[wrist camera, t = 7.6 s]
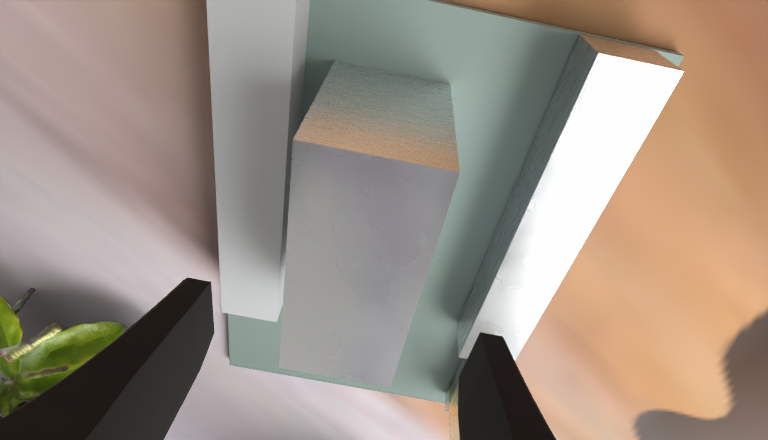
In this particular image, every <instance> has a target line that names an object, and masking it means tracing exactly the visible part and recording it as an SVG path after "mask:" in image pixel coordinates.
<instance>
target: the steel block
mask: <svg viewBox="0 0 768 440" xmlns="http://www.w3.org/2000/svg"><path fill="white" fill-rule="evenodd" d="M459 174H460V167H459V158H458V149H457V140H456V131H455V122H454V113H453V103H452V94H451V85H450V83H445V82H440V81H435V80H430V79H425V78H420V77H415V76H410V75H406V74H401V73H396V72H391V71H386V70H381V69H376V68H371V67H366V66H361V65H356V64H351V63H347V62H342V61H337V60H335V62H334V64H333V65H332V67H331V69H330V71H329V73H328V75H327V77H326V78H325V80H324V82H323V84H322V86H321V88H320V90H319V92H318V93H317V95H316V97H315V99H314V101H313V103H312V105H311V107H310V108H309V110H308V112H307V114H306V116H305V118H304V120H303V121H302V123H301V125H300V127H299V129H298V131H297V133H296V135H295V136H294V138H293V145H292V162H291V178H290V194H289V211H288V227H287V243H286V260H285V276H284V293H283V309H282V325H281V342H280V358H279V368H283V369H288V370H294V371H300V372H306V373H311V374H317V375H323V376H328V377H334V378H340V379H346V380H351V381H357V382H363V383H369V384H374V385H380V386H386V387H391V385H392V382H393V379H394V376H395V373H396V369H397V366H398V363H399V360H400V357H401V354H402V351H403V348H404V345H405V341H406V338H407V335H408V332H409V329H410V326H411V323H412V320H413V317H414V314H415V310H416V307H417V304H418V301H419V298H420V295H421V292H422V289H423V286H424V283H425V279H426V276H427V273H428V270H429V267H430V264H431V261H432V258H433V255H434V251H435V248H436V245H437V242H438V239H439V236H440V233H441V230H442V227H443V224H444V220H445V217H446V214H447V211H448V208H449V205H450V202H451V199H452V196H453V193H454V189H455V186H456V183H457V180H458V177H459Z"/></svg>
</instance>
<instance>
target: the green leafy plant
mask: <svg viewBox="0 0 768 440" xmlns="http://www.w3.org/2000/svg"><path fill="white" fill-rule="evenodd" d="M34 291H35V289H30V290H29V291H28V293H27V294H26V295H25V296H24V297H23V298H22V299H20V300H18V301H17V302H16V303H15V304H14V305H13V306H12V307H11V306H10V305H9V303H8V302H7V301H6V300H5V299H4V298H3V297H2V296H1V295H0V420H1V419H2V418H4V417H5V416H7V415H9V414H10V413H12V412H13V411H15V410H17V409H18V408H20V407H21V406H23V405H25V404H26V403H28V402H29V401H31V400H33V399H34V398H36V397H37V396H39V395H40V394H42V393H43V392H45V391H46V390H48V389H49V388H51V387H52V386H54V385H55V384H56V383H58V382H59V381H61V380H62V379H64V378H65V377H66V376H68V375H69V374H71V373H72V372H73V371H75V370H76V369H78V368H79V367H80V366H82V365H83V364H84V363H86V362H87V361H88V360H90V359H91V358H92V357H93V356H95V355H96V354H97V353H99V352H100V351H101V350H103V349H104V348H105V347H107V346H108V345H109V344H110V343H112V342H113V341H114V340H115V339H117V338H118V337H119V336H120V335H122V334H123V333H124V332H125V331H126V330H128V329H127V328H126V327H125V325H123V324H121V323H118V322H114V321H112V322H108V321H100V322H89V323H81V324H77V325H74V326H71V327H69V328H66V329H61V327H60V324H58V323H55V322H54V323H52V324H50V325H48V326H47V327H46V328H45V329H43V330H42V331H41V332H40V333H39V334H37V335H36V336H34V337H32V338H30V339H28V340H26V341H24V342H22V340H23V336H24V335H23V330H22V328H21V326H20V318H19V317H18V316H17V315H16V314H17V312H19V311H20V309H21V308H22V307H23V305H24V304H25V302H26V300H28V298H29V297H30V296H31V295H32V293H33V292H34ZM21 342H22V343H21Z"/></svg>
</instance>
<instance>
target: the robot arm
mask: <svg viewBox="0 0 768 440" xmlns="http://www.w3.org/2000/svg"><path fill="white" fill-rule="evenodd" d="M213 335H214V322H213V306H212V291H211V282H208V281H202V280H197V279H192V278H186V279H185V280H183V281H182V282H181V283H180V284H179V285H178V286H177V287H176V288H174V289H173V290H172V291H171V292H170V293H169V294H168V295H167V296H166V297H165V298H163V299H162V300H161V301H160V302H159V303H158V304H157V305H156V306H154V307H153V308H152V309H151V310H150V311H149V312H148V313H147V314H145V315H144V316H143V317H142V318H141V319H140V320H138V321H137V322H136V323H135V324H134V325H132V326H131V327H130V328H129V329H128V330H126V331H125V332H124V333H123V334H122V335H120V336H119V337H118V338H117V339H115V340H114V341H113V342H112V343H110V344H109V345H108V346H107V347H105V348H104V349H103V350H101V351H100V352H99V353H97V354H96V355H95V356H93V357H92V358H91V359H90V360H88V361H87V362H86V363H84V364H83V365H82V366H80V367H79V368H78V369H76V370H75V371H73V372H72V373H71V374H69V375H68V376H66V377H65V378H64V379H62V380H61V381H59V382H58V383H56V384H55V385H54V386H52V387H51V388H49V389H48V390H46V391H45V392H43V393H42V394H40V395H39V396H37V397H36V398H34V399H33V400H31V401H29V402H28V403H26V404H25V405H23V406H21V407H20V408H18V409H17V410H15V411H13V412H12V413H10V414H9V415H7V416H5V417H4V418H2V419H1V420H0V440H164V438H165V436H166V434H167V432H168V430H169V428H170V426H171V424H172V422H173V421H174V419H175V417H176V415H177V413H178V411H179V409H180V407H181V405H182V403H183V402H184V400H185V398H186V396H187V394H188V392H189V390H190V388H191V386H192V384H193V382H194V380H195V378H196V376H197V374H198V373H199V371H200V368H201V366H202V363H203V361H204V358H205V356H206V353H207V351H208V348H209V345H210V343H211V340H212V337H213ZM458 421H459V433H460V440H556V438H555V437H554V435H553V433H552V432H551V430H550V428H549V426H548V425H547V423H546V421H545V419H544V417H543V415H542V414H541V412H540V410H539V408H538V406H537V404H536V402H535V401H534V399H533V397H532V395H531V393H530V391H529V389H528V387H527V385H526V383H525V381H524V379H523V377H522V375H521V373H520V371H519V369H518V367H517V365H516V363H515V361H514V359H513V356H512V354H511V352H510V350H509V348H508V346H507V344H506V341H505V339H504V338H503V336H498V335H493V334H488V333H482V332H480V333H479V336H478V338H477V340H476V342H475V344H474V346H473V348H472V350H471V352H470V354H469V357H468V359H467V361H466V363H465V365H464V367H463V369H462V371H461V373H460V375H459V385H458Z"/></svg>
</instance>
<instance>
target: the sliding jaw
mask: <svg viewBox="0 0 768 440" xmlns="http://www.w3.org/2000/svg"><path fill="white" fill-rule="evenodd" d="M683 72H684V71H683V70H681V69H680V68H679V67H677V66H676V65H675V64H673V63H672V62H670V61H669V60H668V59H666V58H665V57H664V56H662V55H661V54H659V53H658V52H657V51H655V50H650V49H646V48H641V47H637V46H632V45H627V44H623V43H618V42H614V41H609V40H604V39H600V38H595V37H591V36H586V35H581V34H579V36H578V38H577V41H576V43H575V45H574V48H573V50H572V52H571V55H570V57H569V60H568V62H567V64H566V67H565V69H564V71H563V74H562V76H561V78H560V81H559V83H558V86H557V88H556V90H555V93H554V95H553V97H552V100H551V102H550V104H549V107H548V109H547V111H546V114H545V116H544V119H543V121H542V123H541V126H540V128H539V130H538V133H537V135H536V137H535V140H534V142H533V145H532V147H531V149H530V152H529V154H528V156H527V159H526V161H525V163H524V166H523V168H522V171H521V173H520V175H519V178H518V180H517V182H516V185H515V187H514V189H513V192H512V194H511V196H510V199H509V201H508V204H507V206H506V208H505V211H504V213H503V215H502V218H501V220H500V222H499V225H498V227H497V230H496V232H495V234H494V237H493V239H492V241H491V244H490V246H489V248H488V251H487V253H486V255H485V258H484V260H483V263H482V265H481V267H480V270H479V272H478V274H477V277H476V279H475V281H474V284H473V286H472V289H471V291H470V293H469V296H468V298H467V300H466V303H465V305H464V307H463V310H462V312H461V314H460V317H459V319H458V322H457V338H458V354H459V358H462V359H461V361H460V363H459V365H458V367H457V369H456V372H455V374H454V376H453V378H452V380H451V382H450V384H449V387H448V389H447V391H446V393H445V411H449V418H450V440H460V433H459V421H458V385H459V375H460V373H461V371H462V369H463V367H464V365H465V363H466V361H467V359H468V357H469V354H470V352H471V350H472V348H473V346H474V344H475V342H476V340H477V338H478V336H479V333H480V332H482V333H488V334H493V335H498V336H503V338H504V339H505V341H506V344H507V346H508V348H509V350H510V352H511V354H512V356H513V359H514V361H515V360H516V358H517V356H518V354H519V353H520V351H521V349H522V348H523V346H524V344H525V343H526V341H527V339H528V337H529V336H530V334H531V332H532V331H533V329H534V327H535V325H536V324H537V322H538V320H539V319H540V317H541V315H542V313H543V312H544V310H545V308H546V307H547V305H548V303H549V301H550V300H551V298H552V296H553V295H554V293H555V291H556V290H557V288H558V286H559V284H560V283H561V281H562V279H563V278H564V276H565V274H566V272H567V271H568V269H569V267H570V266H571V264H572V262H573V260H574V259H575V257H576V255H577V254H578V252H579V250H580V248H581V247H582V245H583V243H584V242H585V240H586V238H587V237H588V235H589V233H590V231H591V230H592V228H593V226H594V225H595V223H596V221H597V219H598V218H599V216H600V214H601V213H602V211H603V209H604V207H605V206H606V204H607V202H608V201H609V199H610V197H611V195H612V194H613V192H614V190H615V189H616V187H617V185H618V184H619V182H620V180H621V178H622V177H623V175H624V173H625V172H626V170H627V168H628V166H629V165H630V163H631V161H632V160H633V158H634V156H635V154H636V153H637V151H638V149H639V148H640V146H641V144H642V143H643V141H644V139H645V137H646V136H647V134H648V132H649V131H650V129H651V127H652V125H653V124H654V122H655V120H656V119H657V117H658V115H659V113H660V112H661V110H662V108H663V107H664V105H665V103H666V101H667V100H668V98H669V96H670V95H671V93H672V91H673V90H674V88H675V86H676V84H677V83H678V81H679V79H680V78H681V76H682V74H683Z"/></svg>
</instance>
